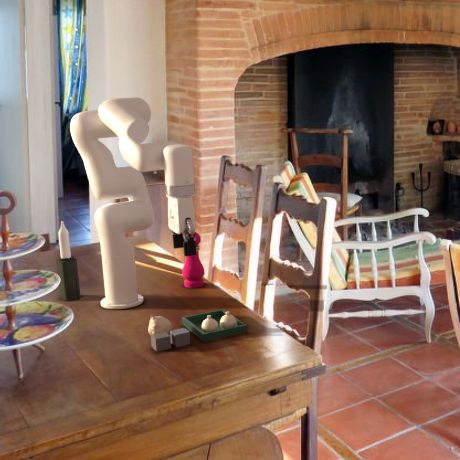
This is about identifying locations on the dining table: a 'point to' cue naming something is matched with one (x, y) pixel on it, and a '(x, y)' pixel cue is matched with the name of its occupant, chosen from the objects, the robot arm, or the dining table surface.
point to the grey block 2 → (180, 337)
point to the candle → (67, 268)
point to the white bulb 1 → (209, 325)
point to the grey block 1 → (161, 341)
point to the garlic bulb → (159, 325)
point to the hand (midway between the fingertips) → (184, 251)
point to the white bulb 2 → (227, 321)
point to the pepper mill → (193, 268)
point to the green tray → (196, 327)
